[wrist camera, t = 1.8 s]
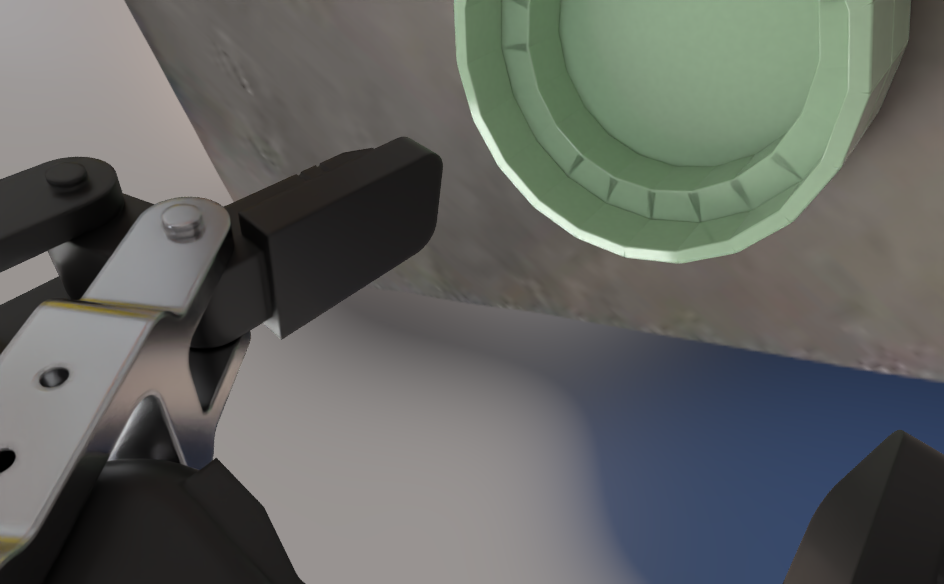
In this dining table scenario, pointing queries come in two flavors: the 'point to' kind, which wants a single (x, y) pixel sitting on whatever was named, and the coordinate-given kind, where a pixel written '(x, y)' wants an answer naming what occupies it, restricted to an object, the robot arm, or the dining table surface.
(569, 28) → the bowl
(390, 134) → the dining table surface
